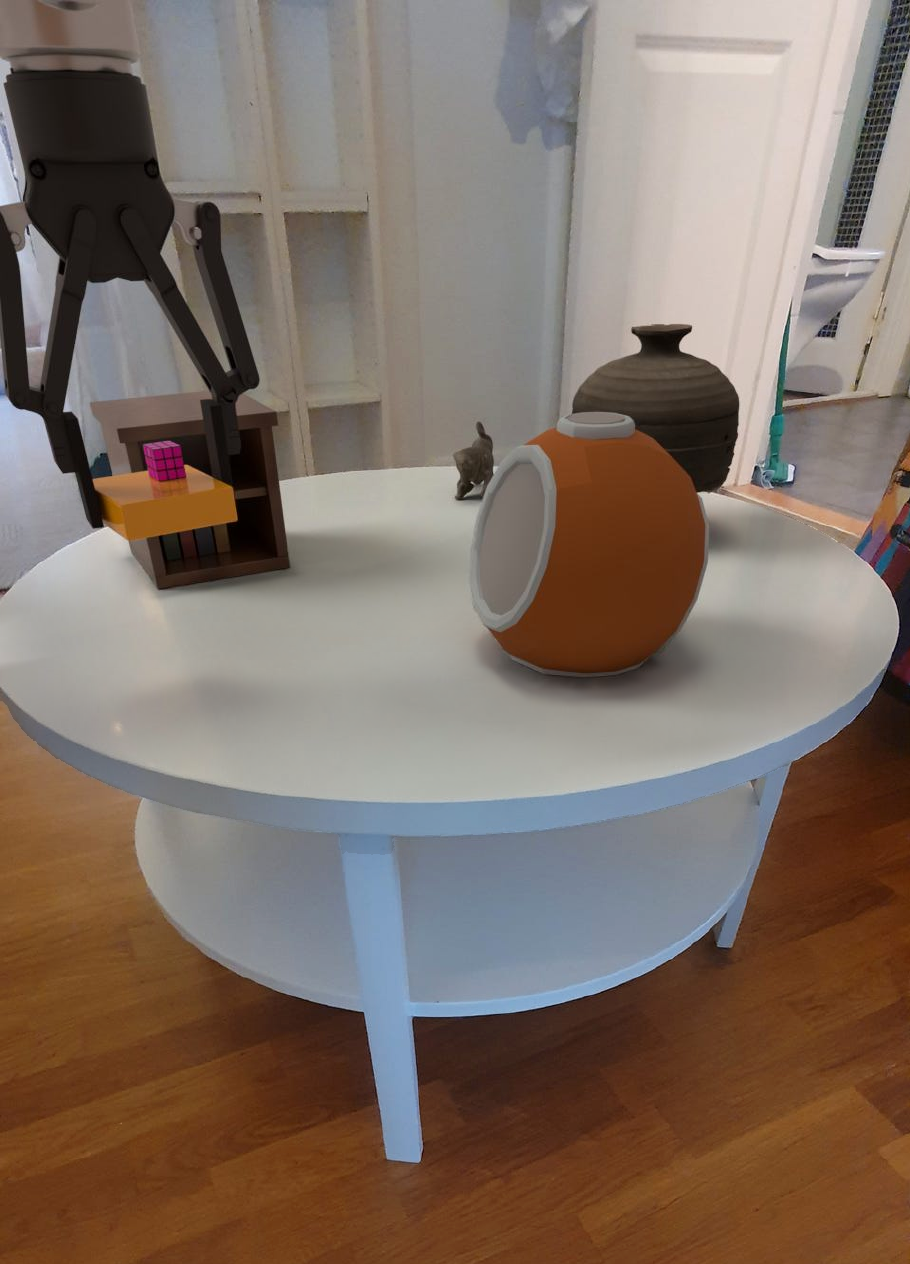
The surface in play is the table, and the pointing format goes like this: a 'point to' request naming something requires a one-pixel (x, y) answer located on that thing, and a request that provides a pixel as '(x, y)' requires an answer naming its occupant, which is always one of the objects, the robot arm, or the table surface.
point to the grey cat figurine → (475, 464)
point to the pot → (671, 402)
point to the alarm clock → (588, 548)
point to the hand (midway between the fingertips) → (162, 514)
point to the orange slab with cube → (163, 497)
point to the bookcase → (253, 471)
